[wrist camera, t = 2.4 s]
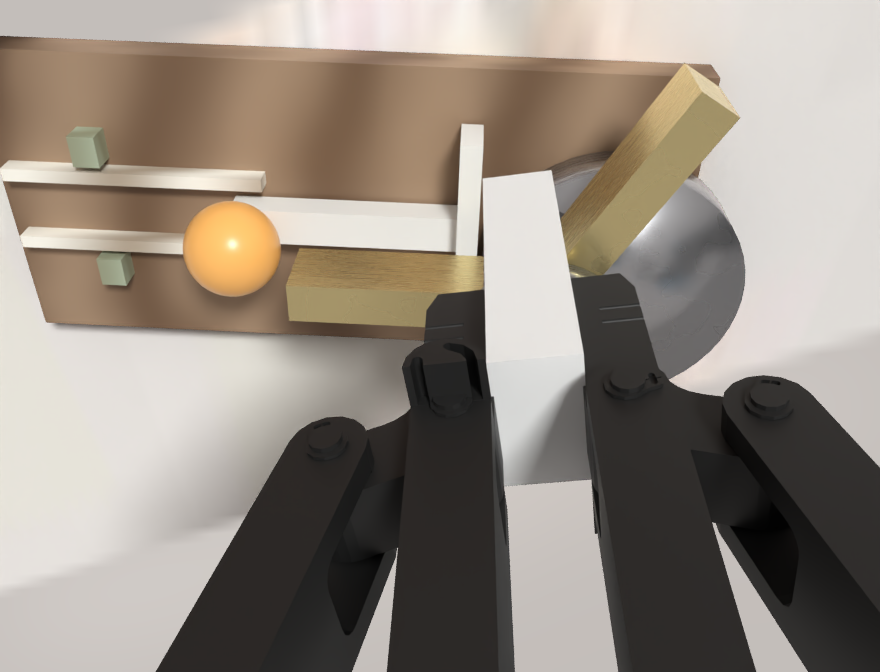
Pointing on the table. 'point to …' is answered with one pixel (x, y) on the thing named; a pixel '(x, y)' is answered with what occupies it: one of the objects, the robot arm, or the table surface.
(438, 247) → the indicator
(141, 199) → the board
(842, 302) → the table surface
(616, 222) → the cam capstan
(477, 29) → the table surface
